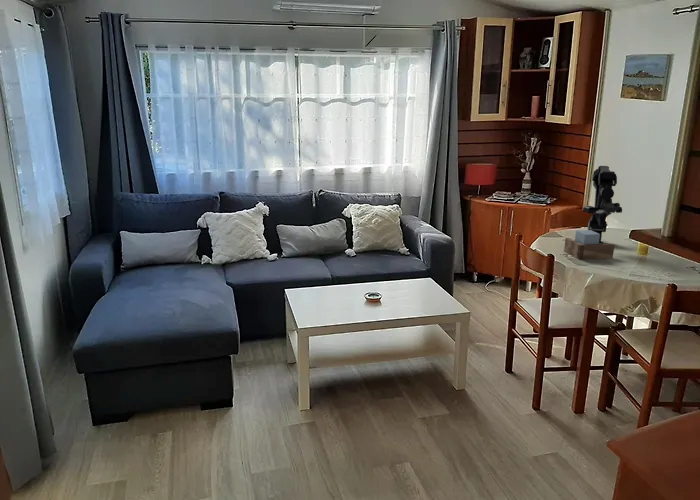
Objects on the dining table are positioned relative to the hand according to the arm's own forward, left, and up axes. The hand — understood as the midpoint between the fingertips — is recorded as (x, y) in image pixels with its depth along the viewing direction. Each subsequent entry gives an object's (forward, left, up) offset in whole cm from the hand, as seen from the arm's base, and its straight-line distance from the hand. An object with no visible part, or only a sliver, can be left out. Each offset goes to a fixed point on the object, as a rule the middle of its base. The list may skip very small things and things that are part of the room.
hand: (600, 225), depth 290 cm
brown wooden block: (+11, -12, -12) cm, 20 cm away
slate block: (+12, -14, -12) cm, 22 cm away
